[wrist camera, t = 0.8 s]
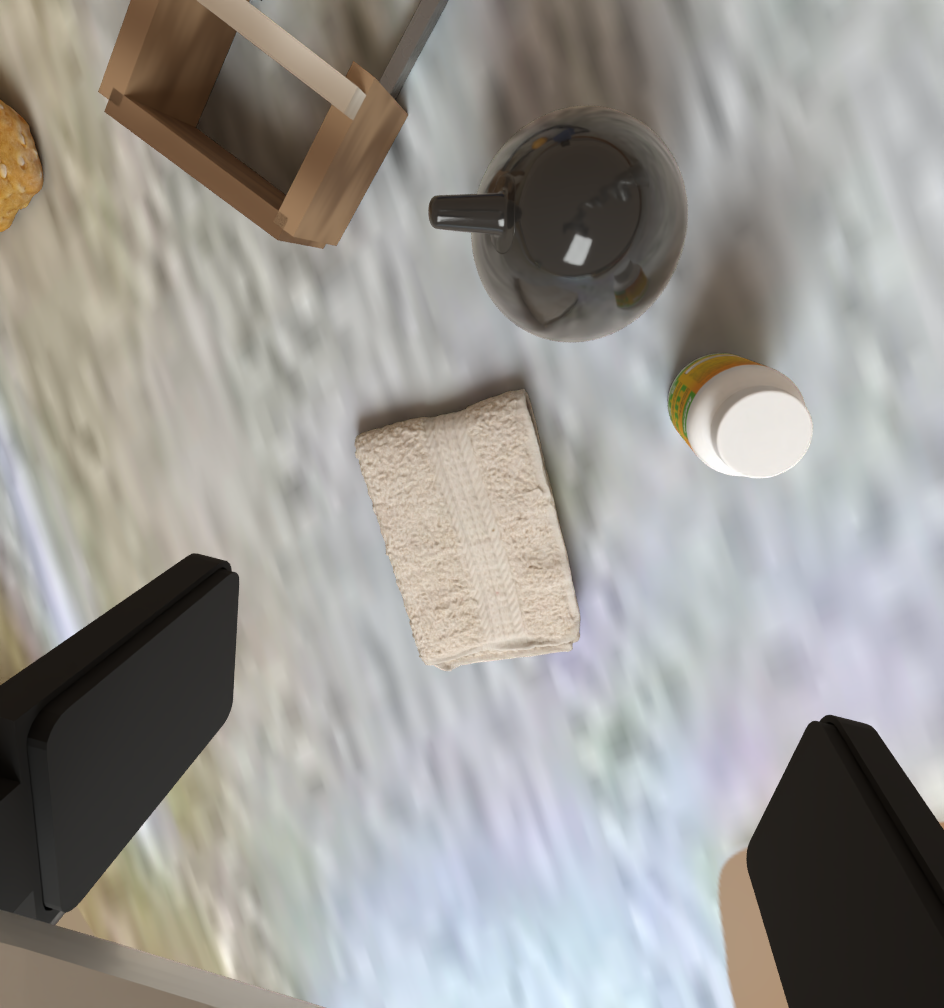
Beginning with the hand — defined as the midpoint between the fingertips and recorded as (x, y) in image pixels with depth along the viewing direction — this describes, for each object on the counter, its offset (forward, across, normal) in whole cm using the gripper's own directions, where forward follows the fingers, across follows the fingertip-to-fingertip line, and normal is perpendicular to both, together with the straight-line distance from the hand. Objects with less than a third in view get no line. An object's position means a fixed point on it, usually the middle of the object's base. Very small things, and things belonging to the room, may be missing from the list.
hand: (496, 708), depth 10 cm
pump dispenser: (+29, +1, -9) cm, 31 cm away
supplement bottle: (+29, -9, -2) cm, 31 cm away
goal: (+29, +18, -12) cm, 36 cm away
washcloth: (+30, +3, +10) cm, 31 cm away
